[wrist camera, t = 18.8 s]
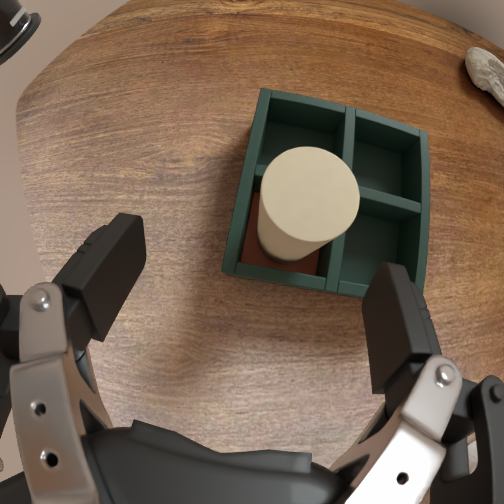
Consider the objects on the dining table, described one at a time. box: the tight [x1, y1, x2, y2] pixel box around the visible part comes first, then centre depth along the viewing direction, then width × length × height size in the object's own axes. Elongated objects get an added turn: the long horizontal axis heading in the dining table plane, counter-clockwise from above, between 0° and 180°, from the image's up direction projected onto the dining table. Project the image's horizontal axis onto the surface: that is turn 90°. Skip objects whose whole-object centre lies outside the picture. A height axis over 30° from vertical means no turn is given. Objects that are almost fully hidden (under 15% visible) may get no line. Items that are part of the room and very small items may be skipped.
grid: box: [221, 88, 430, 299], centre depth 20 cm, size 13×13×4 cm
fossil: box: [465, 47, 504, 107], centre depth 23 cm, size 11×4×10 cm
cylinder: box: [257, 147, 360, 264], centre depth 16 cm, size 4×4×10 cm
